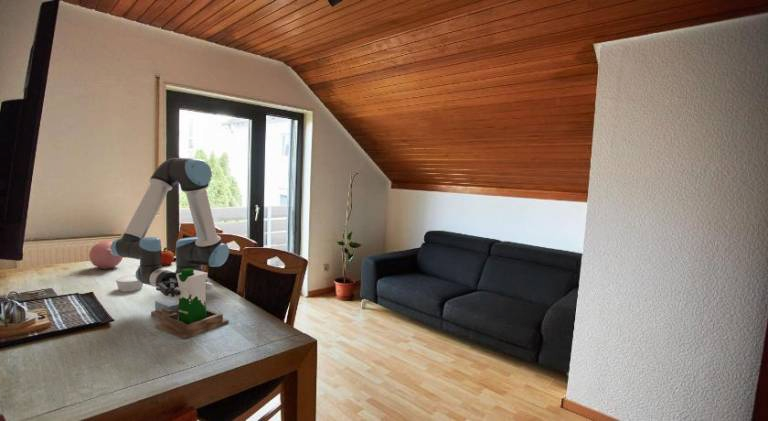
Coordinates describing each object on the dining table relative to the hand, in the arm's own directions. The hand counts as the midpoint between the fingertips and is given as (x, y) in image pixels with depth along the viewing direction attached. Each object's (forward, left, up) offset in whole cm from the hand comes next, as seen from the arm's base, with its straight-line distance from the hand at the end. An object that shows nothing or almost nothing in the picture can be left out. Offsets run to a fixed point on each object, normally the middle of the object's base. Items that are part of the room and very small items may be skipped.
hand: (200, 291), depth 143 cm
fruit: (-42, -94, -14) cm, 104 cm away
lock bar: (0, -21, -13) cm, 25 cm away
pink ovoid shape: (-18, -107, -14) cm, 110 cm away
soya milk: (0, -4, -12) cm, 13 cm away
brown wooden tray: (0, -11, -14) cm, 18 cm away
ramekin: (-8, -64, -14) cm, 67 cm away
